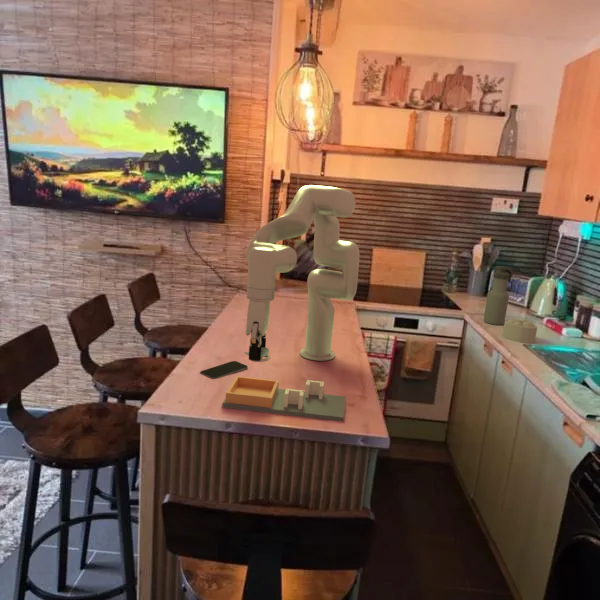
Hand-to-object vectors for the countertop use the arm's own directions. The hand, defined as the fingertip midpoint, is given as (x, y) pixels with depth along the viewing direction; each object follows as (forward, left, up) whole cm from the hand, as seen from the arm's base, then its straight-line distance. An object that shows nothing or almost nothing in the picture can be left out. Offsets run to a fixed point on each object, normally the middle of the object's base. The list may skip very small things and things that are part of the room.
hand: (257, 355), depth 145 cm
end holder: (0, -1, -12) cm, 12 cm away
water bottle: (-121, +96, -14) cm, 155 cm away
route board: (0, +9, -14) cm, 16 cm away
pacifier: (+1, 0, -1) cm, 1 cm away
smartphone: (-19, -14, -14) cm, 28 cm away
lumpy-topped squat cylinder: (-95, +100, -14) cm, 139 cm away
